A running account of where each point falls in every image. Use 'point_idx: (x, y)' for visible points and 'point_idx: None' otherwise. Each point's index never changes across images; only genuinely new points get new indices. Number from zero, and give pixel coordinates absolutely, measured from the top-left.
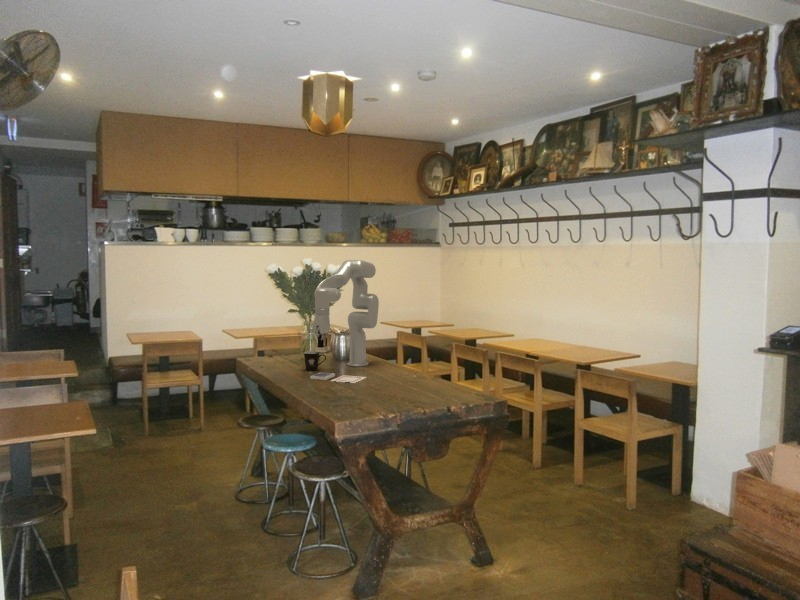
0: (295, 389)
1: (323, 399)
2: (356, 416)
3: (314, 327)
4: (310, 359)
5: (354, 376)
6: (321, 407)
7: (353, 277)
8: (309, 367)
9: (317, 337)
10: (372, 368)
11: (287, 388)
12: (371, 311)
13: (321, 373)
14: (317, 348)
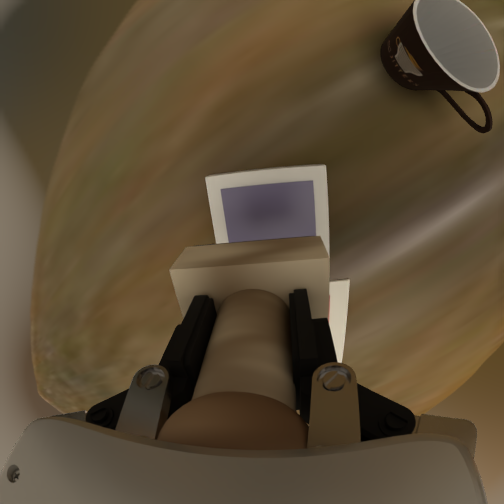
0: (54, 247)
1: (61, 354)
2: (63, 408)
3: (1, 498)
4: (407, 52)
5: (338, 331)
6: (41, 365)
7: None
8: (387, 57)
9: (107, 404)
10: (491, 298)
11: (47, 215)
12: None
13: (291, 195)
14: (181, 293)
